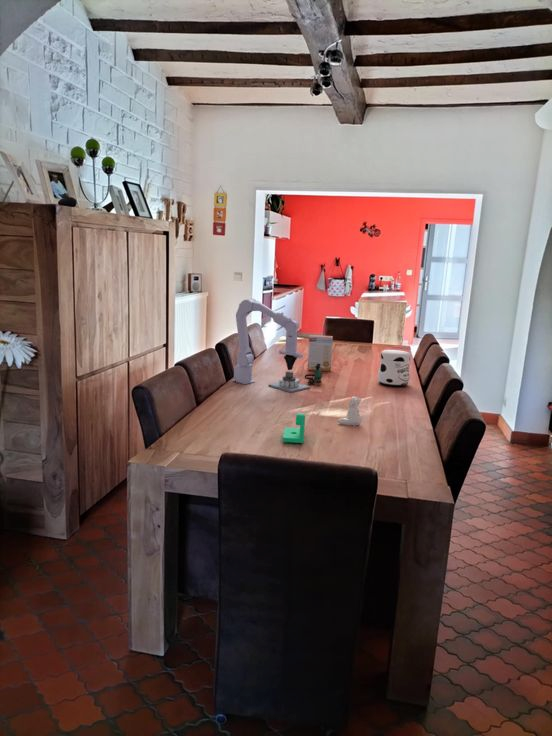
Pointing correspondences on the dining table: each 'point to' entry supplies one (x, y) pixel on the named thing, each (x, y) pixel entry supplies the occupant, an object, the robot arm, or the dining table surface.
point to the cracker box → (320, 352)
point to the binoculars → (317, 376)
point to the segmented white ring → (289, 383)
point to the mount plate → (300, 387)
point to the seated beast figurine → (352, 413)
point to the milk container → (394, 368)
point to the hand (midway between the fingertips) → (289, 369)
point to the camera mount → (295, 431)
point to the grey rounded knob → (289, 376)
